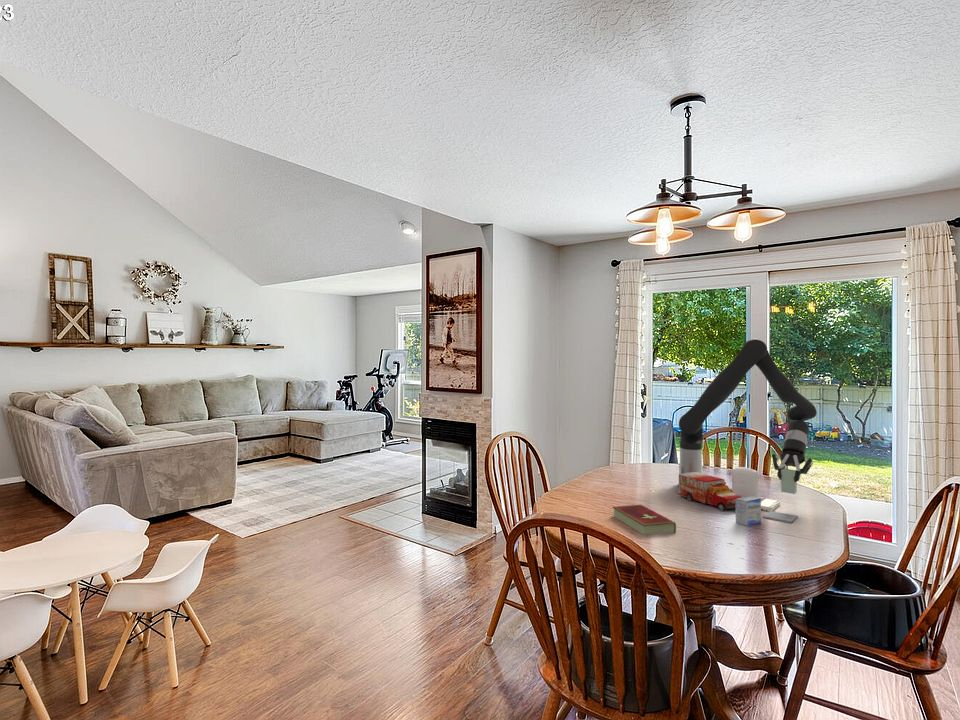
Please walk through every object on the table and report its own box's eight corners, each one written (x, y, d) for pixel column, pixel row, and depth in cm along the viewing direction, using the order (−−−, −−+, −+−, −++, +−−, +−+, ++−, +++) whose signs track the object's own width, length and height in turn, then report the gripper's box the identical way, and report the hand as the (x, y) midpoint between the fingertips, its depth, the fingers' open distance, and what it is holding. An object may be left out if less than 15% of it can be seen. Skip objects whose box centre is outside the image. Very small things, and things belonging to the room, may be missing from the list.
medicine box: (747, 526, 171) (747, 501, 171) (735, 522, 175) (735, 498, 175) (761, 523, 175) (761, 498, 175) (749, 519, 179) (749, 495, 179)
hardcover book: (641, 514, 186) (641, 503, 186) (676, 534, 165) (676, 521, 165) (612, 517, 183) (612, 505, 183) (643, 536, 163) (643, 524, 163)
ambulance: (725, 513, 186) (725, 487, 186) (676, 496, 209) (676, 473, 209) (746, 510, 190) (746, 484, 190) (696, 494, 213) (696, 471, 213)
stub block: (781, 491, 191) (781, 469, 191) (783, 490, 193) (783, 468, 193) (794, 494, 187) (794, 471, 187) (796, 492, 190) (796, 470, 190)
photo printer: (730, 495, 211) (730, 466, 211) (734, 493, 214) (734, 465, 214) (755, 500, 203) (755, 470, 203) (760, 498, 206) (760, 469, 206)
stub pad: (763, 517, 181) (763, 516, 181) (770, 512, 187) (770, 510, 187) (791, 523, 175) (791, 521, 175) (797, 517, 181) (797, 515, 181)
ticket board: (757, 508, 192) (757, 504, 192) (765, 502, 200) (765, 498, 200) (771, 511, 188) (771, 507, 188) (780, 504, 197) (780, 500, 197)
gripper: (773, 436, 200) (764, 471, 192) (815, 440, 191) (808, 477, 182) (776, 447, 204) (768, 482, 196) (817, 452, 194) (811, 488, 186)
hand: (787, 479), depth 189 cm, fingers closed on stub block, 4 cm apart
